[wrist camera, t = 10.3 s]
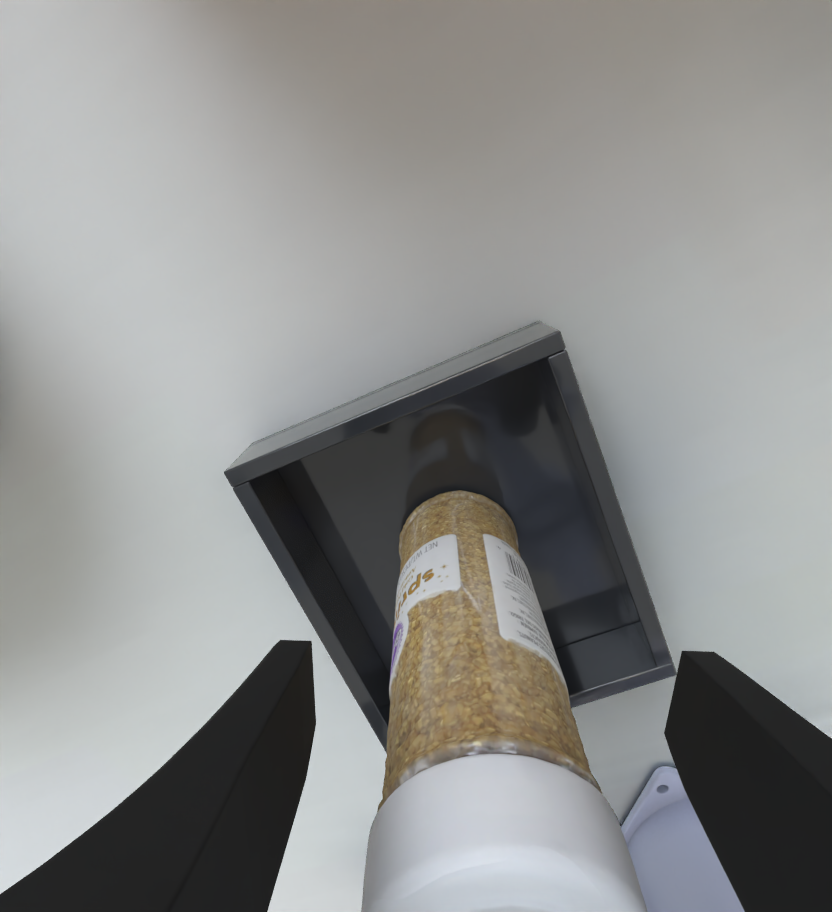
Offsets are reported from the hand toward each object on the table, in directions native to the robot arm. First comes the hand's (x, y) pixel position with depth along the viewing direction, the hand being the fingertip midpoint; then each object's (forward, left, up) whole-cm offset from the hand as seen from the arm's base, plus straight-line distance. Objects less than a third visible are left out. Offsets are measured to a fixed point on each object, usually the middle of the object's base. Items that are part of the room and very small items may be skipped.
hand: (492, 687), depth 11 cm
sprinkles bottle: (-2, -1, -10) cm, 10 cm away
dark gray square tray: (-2, -1, -10) cm, 11 cm away
